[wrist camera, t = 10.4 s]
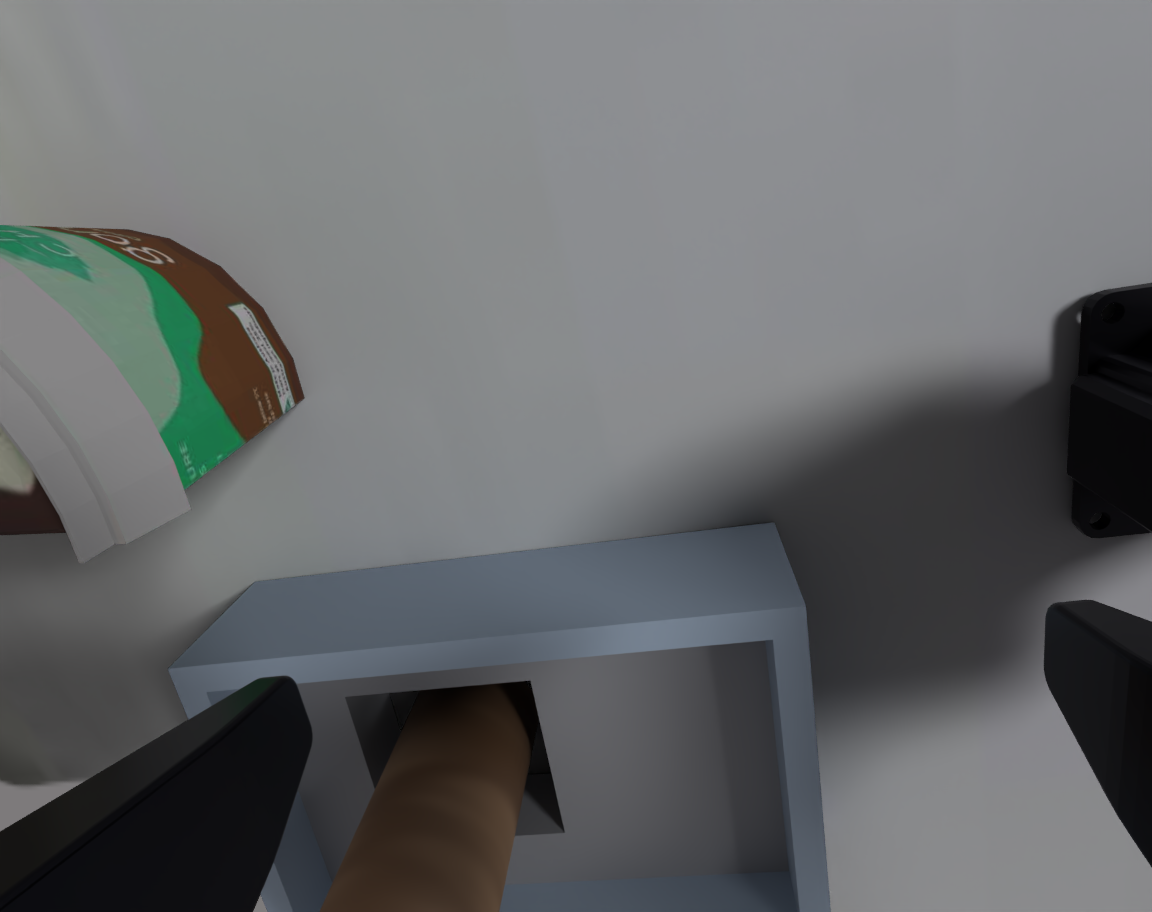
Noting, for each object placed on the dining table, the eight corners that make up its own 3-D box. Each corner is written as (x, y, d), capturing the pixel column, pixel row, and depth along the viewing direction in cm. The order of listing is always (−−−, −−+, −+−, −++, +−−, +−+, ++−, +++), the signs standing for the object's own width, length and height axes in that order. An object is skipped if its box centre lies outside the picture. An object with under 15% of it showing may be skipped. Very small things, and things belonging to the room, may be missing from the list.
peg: (525, 653, 23) (456, 917, 15) (548, 755, 24) (496, 1052, 16) (405, 664, 24) (271, 925, 15) (433, 763, 25) (324, 1055, 17)
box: (774, 522, 21) (805, 605, 17) (802, 822, 24) (833, 954, 20) (254, 581, 23) (167, 668, 19) (348, 848, 27) (292, 972, 22)
